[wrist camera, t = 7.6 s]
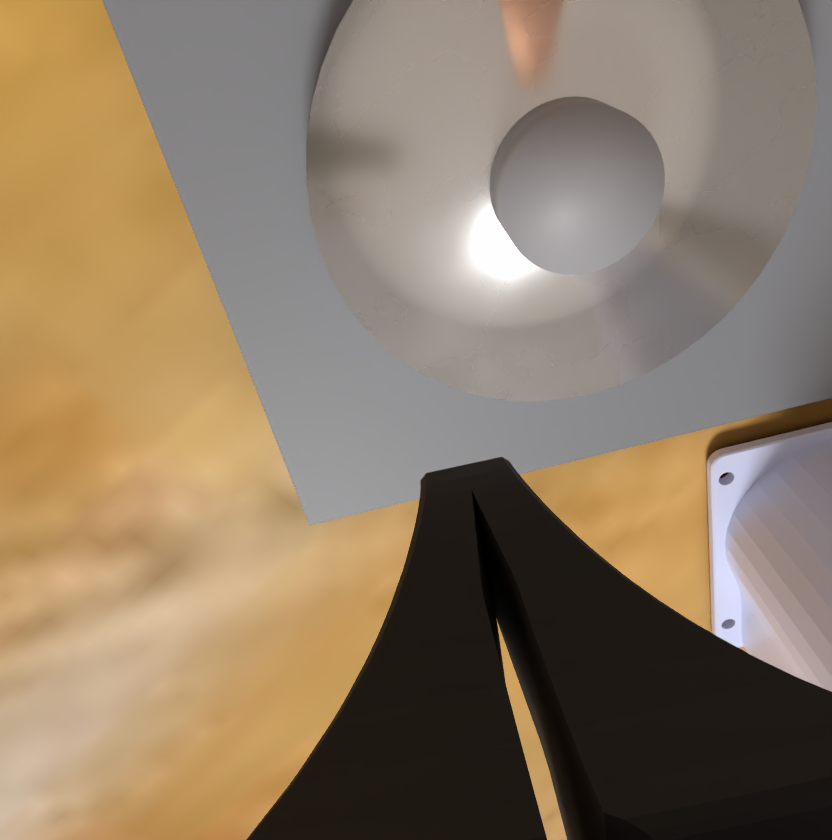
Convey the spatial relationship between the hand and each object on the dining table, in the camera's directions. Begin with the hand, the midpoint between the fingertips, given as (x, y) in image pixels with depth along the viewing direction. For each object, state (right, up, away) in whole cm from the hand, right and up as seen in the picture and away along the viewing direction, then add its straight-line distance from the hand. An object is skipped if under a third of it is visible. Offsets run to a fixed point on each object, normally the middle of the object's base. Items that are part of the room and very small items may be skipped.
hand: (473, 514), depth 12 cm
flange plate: (+2, +9, +6) cm, 11 cm away
